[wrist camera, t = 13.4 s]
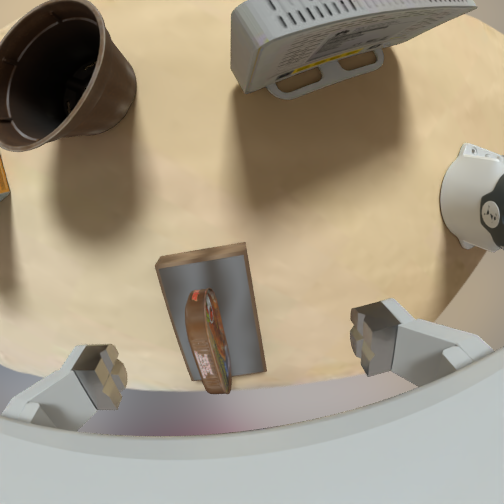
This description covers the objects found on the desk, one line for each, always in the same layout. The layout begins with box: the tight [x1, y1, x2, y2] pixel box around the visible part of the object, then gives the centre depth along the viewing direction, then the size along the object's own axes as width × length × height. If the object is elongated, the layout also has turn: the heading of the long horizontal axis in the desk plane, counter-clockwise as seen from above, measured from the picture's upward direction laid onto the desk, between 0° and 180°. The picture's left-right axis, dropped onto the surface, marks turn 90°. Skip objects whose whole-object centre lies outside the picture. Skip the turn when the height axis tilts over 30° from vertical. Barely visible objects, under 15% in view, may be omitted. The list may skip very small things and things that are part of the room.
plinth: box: [155, 242, 267, 381], centre depth 42 cm, size 12×20×4 cm, turn 8°
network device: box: [231, 0, 477, 100], centre depth 24 cm, size 26×9×20 cm, turn 116°
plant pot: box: [0, 0, 136, 152], centre depth 25 cm, size 16×16×16 cm
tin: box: [185, 288, 232, 394], centre depth 36 cm, size 15×3×8 cm, turn 8°
